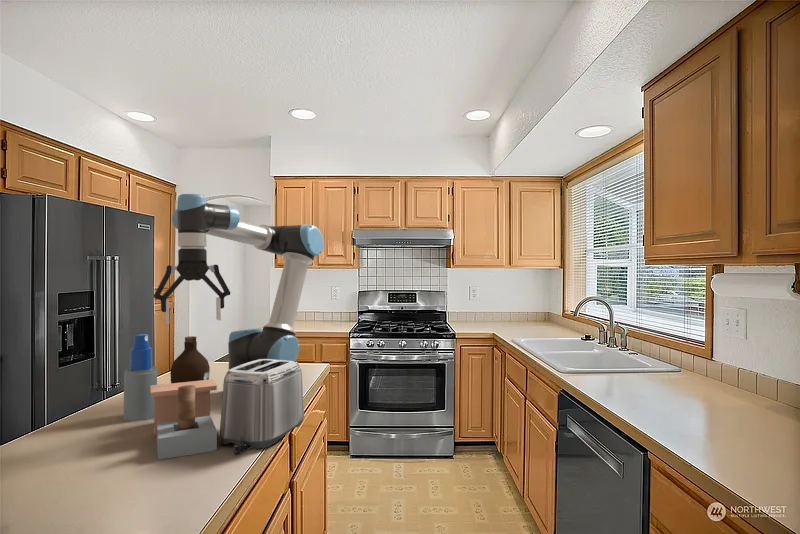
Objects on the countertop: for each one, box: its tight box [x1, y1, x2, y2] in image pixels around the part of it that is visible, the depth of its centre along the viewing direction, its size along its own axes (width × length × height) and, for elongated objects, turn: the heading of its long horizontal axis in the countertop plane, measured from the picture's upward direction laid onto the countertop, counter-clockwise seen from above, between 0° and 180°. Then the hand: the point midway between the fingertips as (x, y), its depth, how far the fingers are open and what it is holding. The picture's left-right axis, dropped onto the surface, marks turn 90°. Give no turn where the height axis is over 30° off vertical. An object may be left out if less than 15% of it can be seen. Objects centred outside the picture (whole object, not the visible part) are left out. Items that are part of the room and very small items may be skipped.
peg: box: [178, 385, 195, 431], centre depth 120 cm, size 4×4×15 cm
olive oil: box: [170, 335, 211, 384], centre depth 139 cm, size 11×11×25 cm
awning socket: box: [150, 378, 218, 461], centre depth 123 cm, size 16×20×13 cm
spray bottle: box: [123, 333, 158, 422], centre depth 143 cm, size 9×9×25 cm
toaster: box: [219, 359, 305, 456], centre depth 128 cm, size 17×30×19 cm, turn 164°
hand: (193, 321), depth 135 cm, fingers open, 13 cm apart
